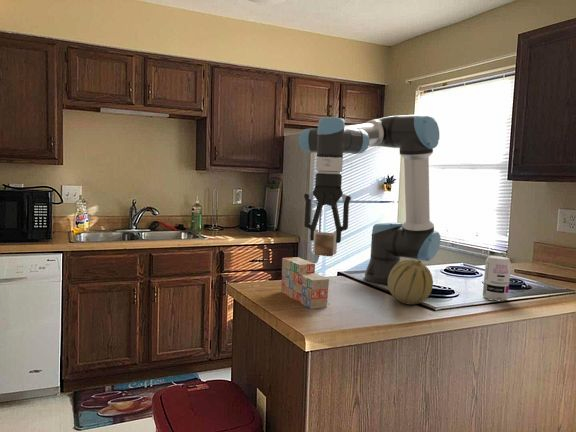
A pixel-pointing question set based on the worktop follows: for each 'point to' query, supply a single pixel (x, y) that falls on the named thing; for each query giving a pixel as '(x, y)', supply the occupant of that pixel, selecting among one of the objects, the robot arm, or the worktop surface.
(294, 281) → the stack of blocks
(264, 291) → the worktop surface
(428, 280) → the cantaloupe
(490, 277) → the supplement can
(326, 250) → the walnut block
